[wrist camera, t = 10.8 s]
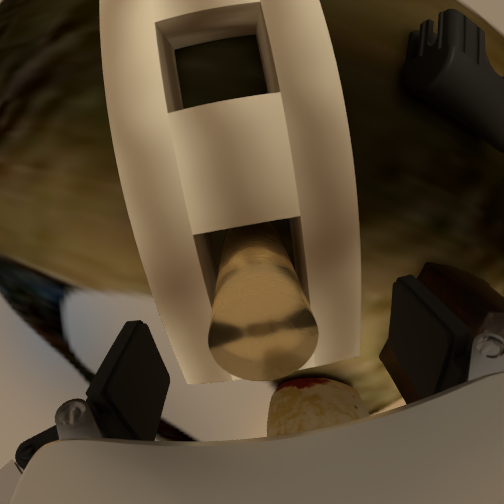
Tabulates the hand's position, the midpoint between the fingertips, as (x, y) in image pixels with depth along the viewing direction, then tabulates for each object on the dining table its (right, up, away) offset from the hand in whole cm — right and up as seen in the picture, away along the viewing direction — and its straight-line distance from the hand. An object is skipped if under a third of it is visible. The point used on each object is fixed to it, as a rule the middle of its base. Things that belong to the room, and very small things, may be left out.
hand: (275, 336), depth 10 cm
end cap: (+15, +16, +7) cm, 23 cm away
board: (-2, +9, +8) cm, 12 cm away
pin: (-1, +4, +10) cm, 11 cm away
